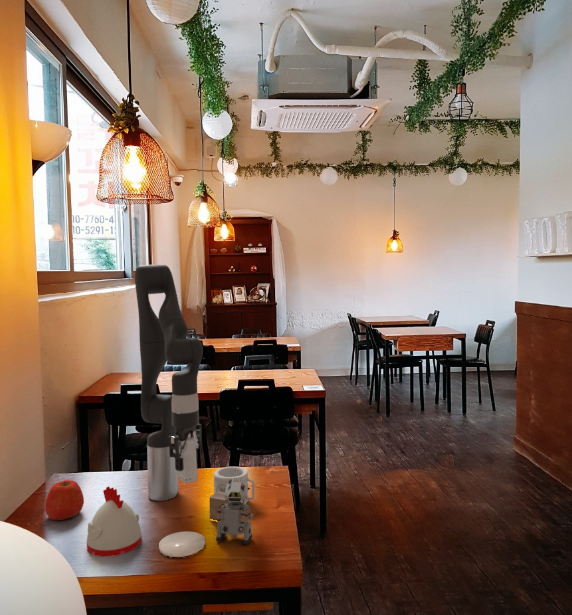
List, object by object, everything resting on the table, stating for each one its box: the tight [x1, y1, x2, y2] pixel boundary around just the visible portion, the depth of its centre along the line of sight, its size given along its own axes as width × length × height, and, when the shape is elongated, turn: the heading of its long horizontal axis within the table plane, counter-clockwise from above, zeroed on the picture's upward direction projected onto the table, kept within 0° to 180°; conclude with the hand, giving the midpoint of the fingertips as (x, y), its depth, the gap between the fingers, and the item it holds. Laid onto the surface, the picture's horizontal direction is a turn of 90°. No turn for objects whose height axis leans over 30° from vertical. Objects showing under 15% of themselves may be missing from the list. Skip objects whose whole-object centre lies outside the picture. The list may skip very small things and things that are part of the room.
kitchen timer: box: [86, 486, 142, 557], centre depth 142 cm, size 14×14×15 cm
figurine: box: [215, 478, 254, 546], centre depth 144 cm, size 9×12×15 cm
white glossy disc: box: [158, 531, 206, 558], centre depth 140 cm, size 12×12×1 cm
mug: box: [213, 466, 256, 505], centre depth 166 cm, size 14×11×10 cm
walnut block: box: [209, 491, 228, 520], centre depth 156 cm, size 5×5×7 cm
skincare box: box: [178, 437, 198, 484], centre depth 150 cm, size 6×4×12 cm
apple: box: [44, 479, 85, 521], centre depth 158 cm, size 11×11×11 cm
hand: (186, 465), depth 151 cm, fingers closed on skincare box, 7 cm apart
